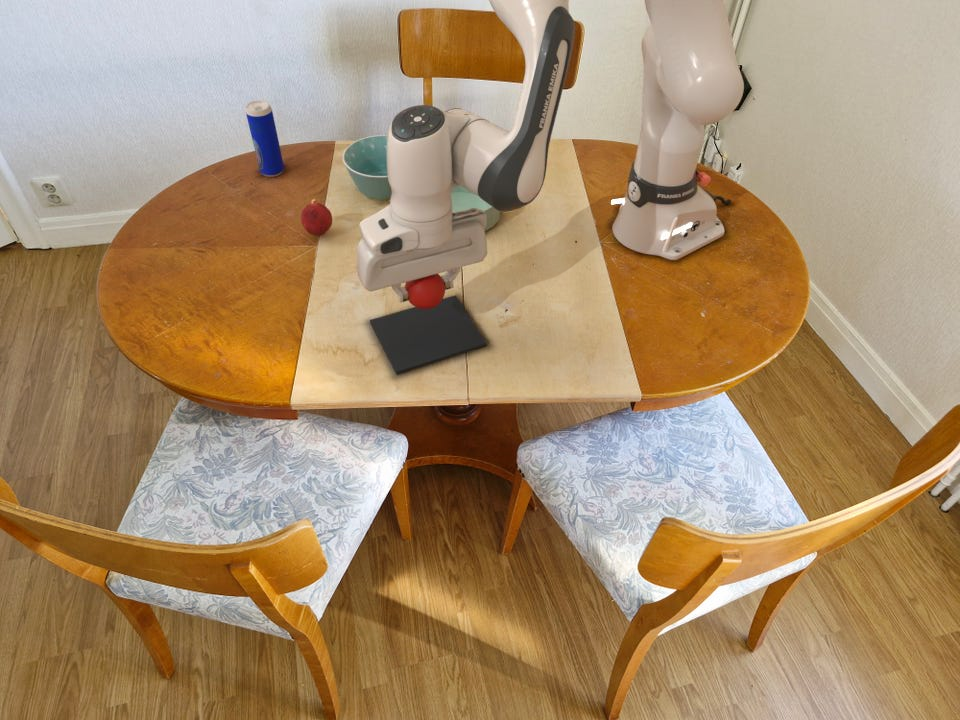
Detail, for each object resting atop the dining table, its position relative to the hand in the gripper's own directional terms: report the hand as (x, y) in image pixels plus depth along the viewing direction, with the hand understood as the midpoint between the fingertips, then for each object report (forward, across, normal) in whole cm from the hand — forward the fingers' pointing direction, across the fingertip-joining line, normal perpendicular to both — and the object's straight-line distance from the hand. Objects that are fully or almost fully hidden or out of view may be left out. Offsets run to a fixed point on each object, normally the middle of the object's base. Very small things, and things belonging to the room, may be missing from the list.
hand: (425, 293), depth 110 cm
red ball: (+2, 0, 0) cm, 2 cm away
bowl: (+10, -8, -44) cm, 46 cm away
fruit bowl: (+9, -19, -30) cm, 37 cm away
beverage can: (+10, +12, -60) cm, 62 cm away
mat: (+9, 0, 0) cm, 9 cm away
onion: (+10, +9, -34) cm, 36 cm away
